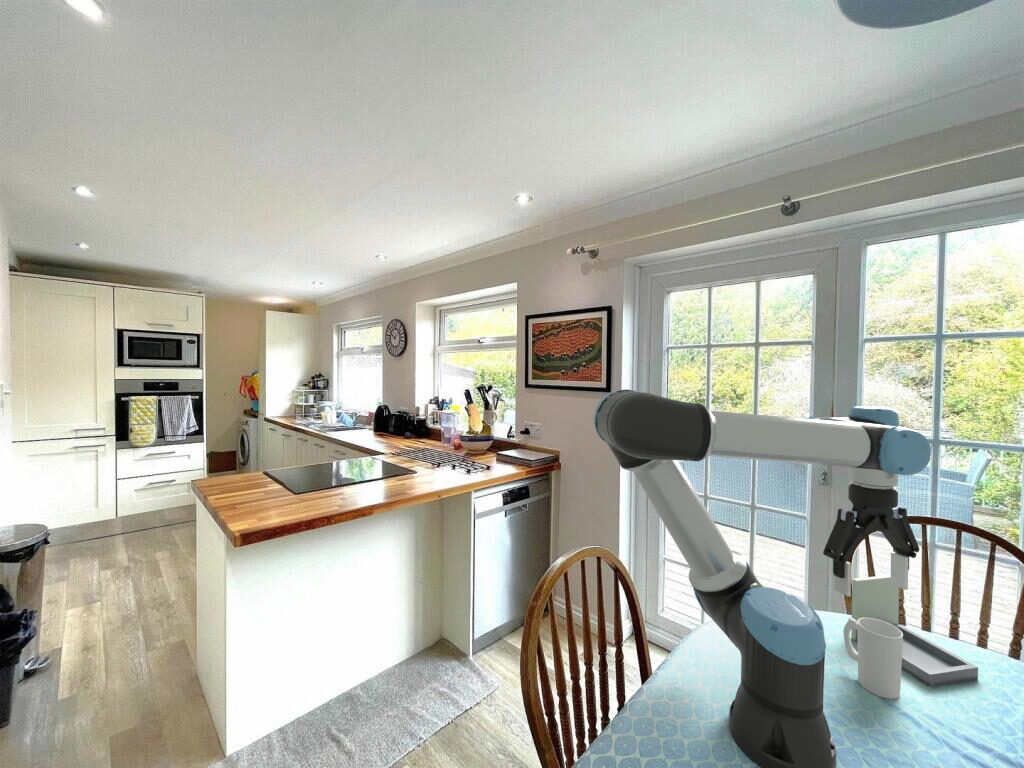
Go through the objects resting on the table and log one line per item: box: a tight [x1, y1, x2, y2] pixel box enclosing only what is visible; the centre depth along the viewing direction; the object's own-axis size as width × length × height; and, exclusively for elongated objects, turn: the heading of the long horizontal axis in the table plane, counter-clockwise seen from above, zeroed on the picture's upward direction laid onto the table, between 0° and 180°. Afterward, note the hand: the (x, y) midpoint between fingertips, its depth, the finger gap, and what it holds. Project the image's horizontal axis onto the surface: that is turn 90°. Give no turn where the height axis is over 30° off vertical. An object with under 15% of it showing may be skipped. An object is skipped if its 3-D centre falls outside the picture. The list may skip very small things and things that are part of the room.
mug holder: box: [850, 574, 979, 689], centre depth 92 cm, size 12×16×14 cm
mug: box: [842, 617, 903, 700], centre depth 85 cm, size 10×7×12 cm, turn 17°
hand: (871, 589), depth 84 cm, fingers open, 13 cm apart
